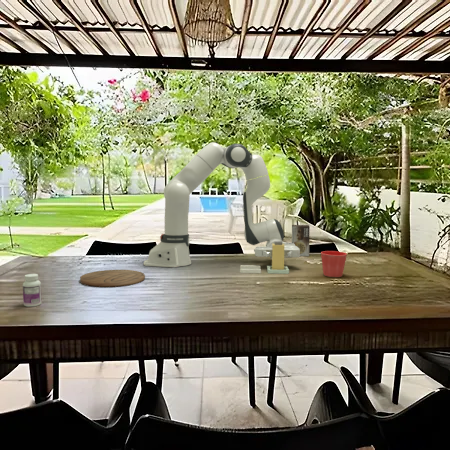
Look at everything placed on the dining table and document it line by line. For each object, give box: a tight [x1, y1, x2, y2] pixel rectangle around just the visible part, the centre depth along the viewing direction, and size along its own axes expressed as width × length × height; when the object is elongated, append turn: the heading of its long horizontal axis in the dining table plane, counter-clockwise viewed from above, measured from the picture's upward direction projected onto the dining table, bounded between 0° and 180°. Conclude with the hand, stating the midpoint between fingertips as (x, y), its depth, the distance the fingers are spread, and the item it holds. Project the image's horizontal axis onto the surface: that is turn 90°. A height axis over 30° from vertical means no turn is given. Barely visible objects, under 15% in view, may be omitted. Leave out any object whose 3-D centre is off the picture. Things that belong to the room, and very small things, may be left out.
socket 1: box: [239, 264, 262, 274], centre depth 195 cm, size 9×9×2 cm
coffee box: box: [291, 224, 311, 257], centre depth 236 cm, size 9×6×16 cm
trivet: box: [79, 269, 146, 288], centre depth 176 cm, size 25×25×2 cm
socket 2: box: [266, 265, 290, 275], centre depth 194 cm, size 9×9×2 cm
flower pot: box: [320, 250, 348, 278], centre depth 187 cm, size 11×11×10 cm
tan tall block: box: [271, 241, 285, 270], centre depth 194 cm, size 5×5×13 cm
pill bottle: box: [22, 273, 43, 308], centre depth 140 cm, size 5×5×10 cm
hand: (278, 254), depth 193 cm, fingers open, 8 cm apart
